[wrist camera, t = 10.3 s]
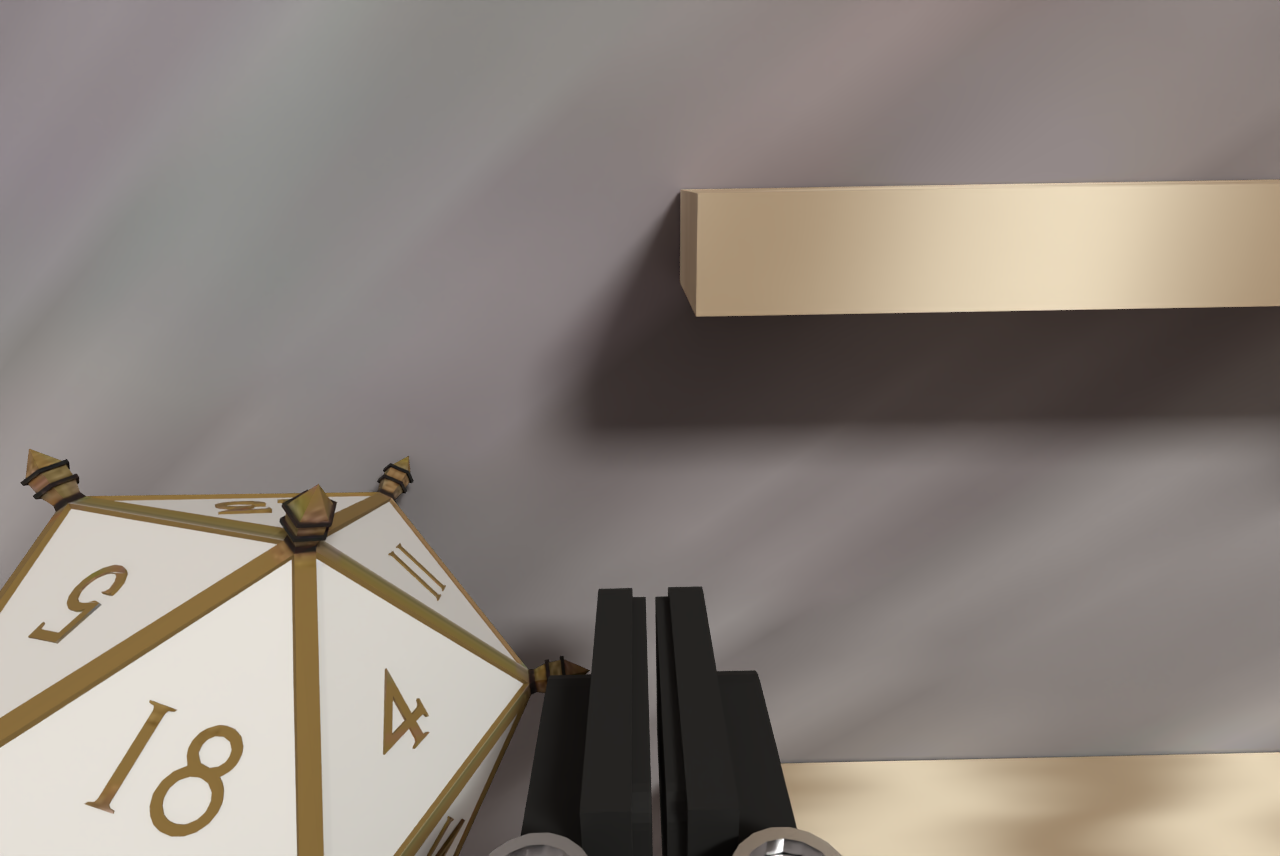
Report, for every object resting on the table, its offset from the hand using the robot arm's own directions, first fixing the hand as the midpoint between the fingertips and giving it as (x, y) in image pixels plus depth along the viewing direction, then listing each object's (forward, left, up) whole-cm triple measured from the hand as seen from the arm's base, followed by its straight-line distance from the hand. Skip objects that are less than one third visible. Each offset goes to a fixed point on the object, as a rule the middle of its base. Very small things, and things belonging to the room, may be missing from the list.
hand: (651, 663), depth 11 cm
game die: (+6, 0, -3) cm, 7 cm away
